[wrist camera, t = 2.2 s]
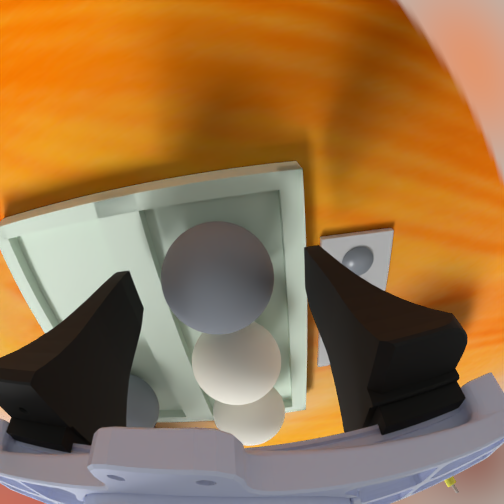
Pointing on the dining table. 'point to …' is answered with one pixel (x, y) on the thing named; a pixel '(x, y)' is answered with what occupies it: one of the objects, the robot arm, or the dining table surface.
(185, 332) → the rack
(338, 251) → the card
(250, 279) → the charcoal ball front
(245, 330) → the cream ball middle
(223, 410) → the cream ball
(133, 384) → the charcoal ball back
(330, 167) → the dining table surface
